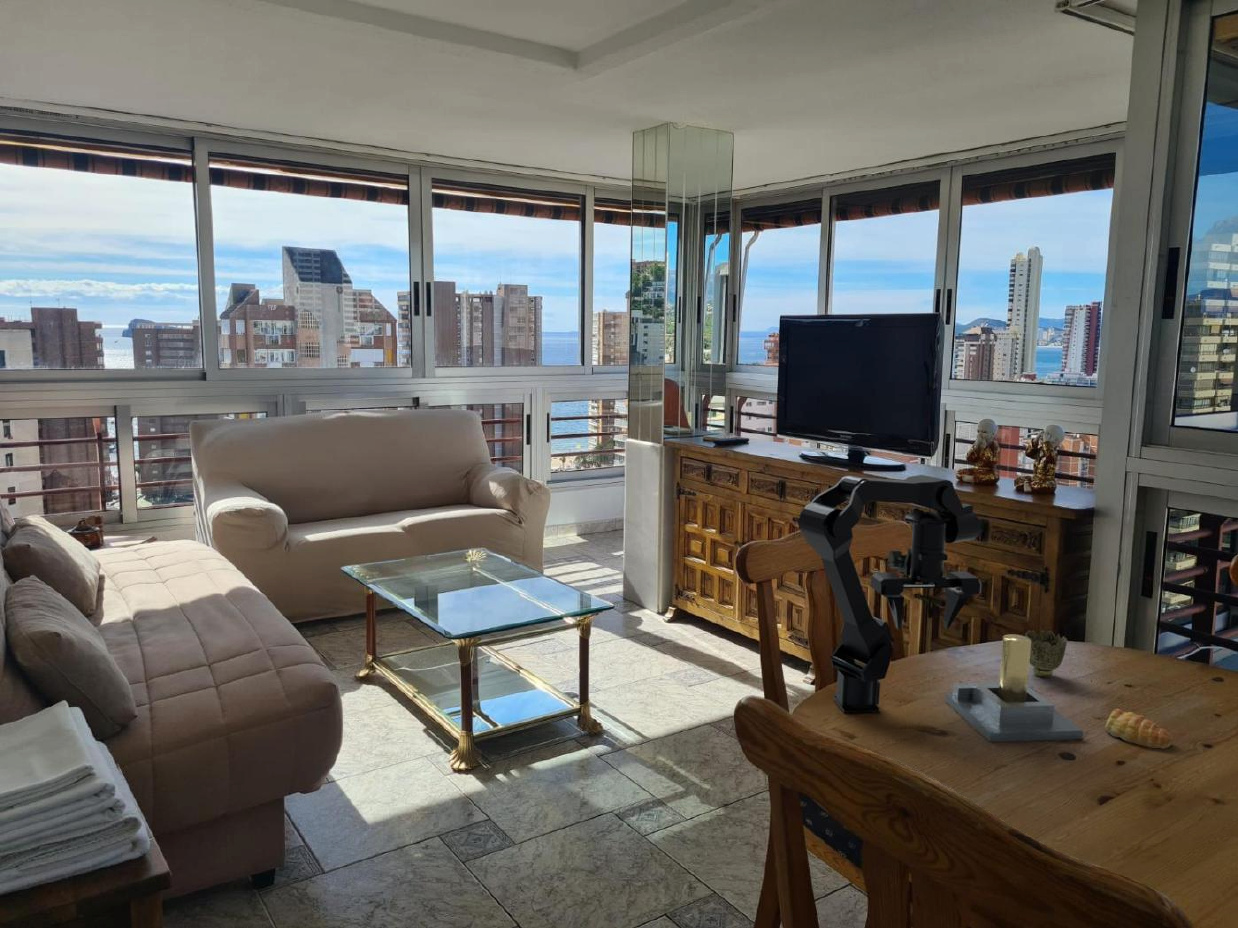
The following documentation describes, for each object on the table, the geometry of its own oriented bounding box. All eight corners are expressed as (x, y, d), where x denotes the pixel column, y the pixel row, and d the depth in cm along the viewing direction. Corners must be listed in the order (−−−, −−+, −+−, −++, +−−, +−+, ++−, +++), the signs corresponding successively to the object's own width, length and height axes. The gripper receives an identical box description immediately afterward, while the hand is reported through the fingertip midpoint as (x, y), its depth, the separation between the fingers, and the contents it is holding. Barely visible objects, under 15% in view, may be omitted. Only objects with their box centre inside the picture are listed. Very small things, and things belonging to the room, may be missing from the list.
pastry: (1177, 743, 149) (1180, 721, 148) (1162, 755, 145) (1165, 733, 144) (1116, 723, 156) (1118, 702, 155) (1100, 735, 152) (1103, 713, 151)
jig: (989, 741, 148) (991, 715, 147) (945, 701, 163) (947, 677, 163) (1082, 739, 149) (1084, 713, 149) (1029, 699, 165) (1031, 675, 164)
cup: (1055, 668, 180) (1059, 630, 179) (1069, 683, 173) (1073, 643, 171) (1016, 666, 181) (1019, 628, 179) (1029, 681, 173) (1032, 641, 172)
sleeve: (1015, 718, 153) (1021, 644, 151) (992, 709, 157) (997, 637, 155) (1030, 712, 156) (1036, 639, 154) (1006, 703, 159) (1012, 632, 157)
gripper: (956, 534, 173) (950, 613, 175) (862, 535, 171) (857, 615, 173) (985, 549, 162) (979, 633, 164) (884, 550, 160) (879, 635, 162)
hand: (922, 628), depth 166 cm, fingers open, 9 cm apart
